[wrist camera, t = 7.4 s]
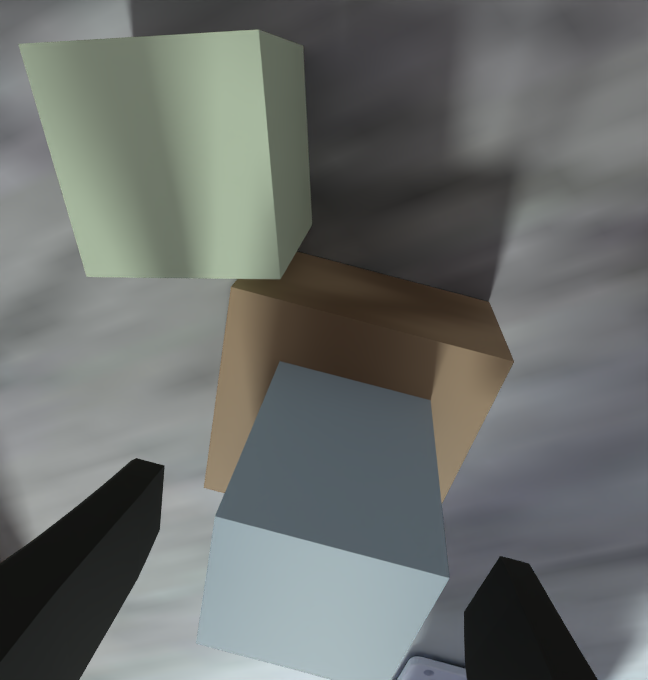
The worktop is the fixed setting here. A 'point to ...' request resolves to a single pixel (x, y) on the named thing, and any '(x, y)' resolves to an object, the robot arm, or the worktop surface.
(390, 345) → the walnut pedestal
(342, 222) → the worktop surface
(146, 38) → the sage block
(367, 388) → the slate block
